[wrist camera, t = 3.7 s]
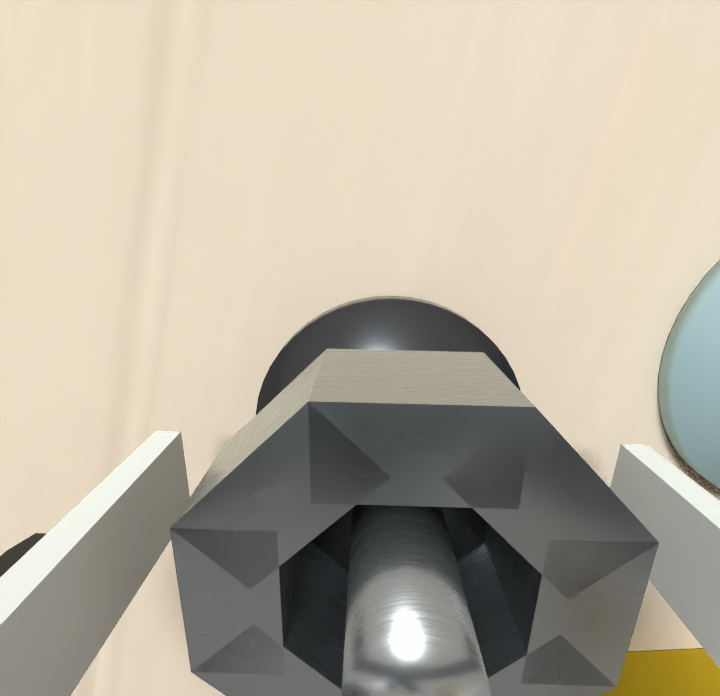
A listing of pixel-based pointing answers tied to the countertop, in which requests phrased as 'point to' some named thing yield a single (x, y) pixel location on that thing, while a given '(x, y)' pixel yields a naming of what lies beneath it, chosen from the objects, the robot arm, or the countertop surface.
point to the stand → (399, 524)
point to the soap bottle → (668, 674)
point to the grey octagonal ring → (406, 488)
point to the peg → (694, 380)
